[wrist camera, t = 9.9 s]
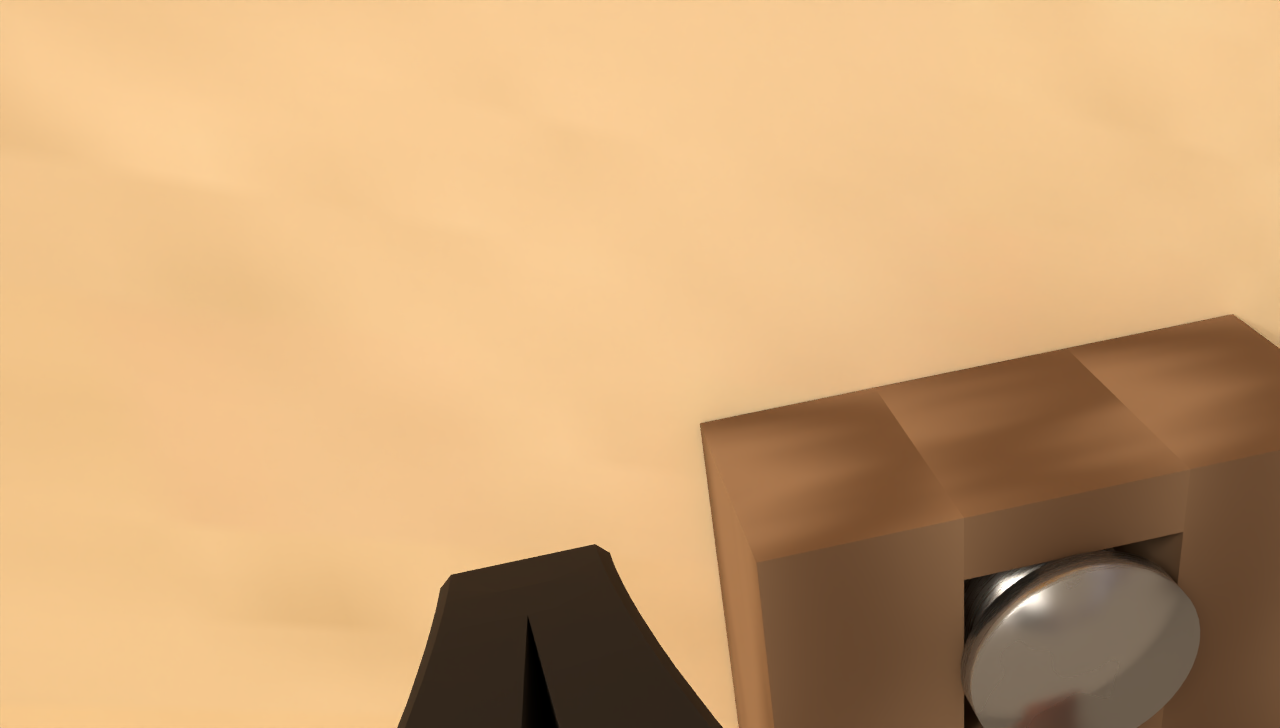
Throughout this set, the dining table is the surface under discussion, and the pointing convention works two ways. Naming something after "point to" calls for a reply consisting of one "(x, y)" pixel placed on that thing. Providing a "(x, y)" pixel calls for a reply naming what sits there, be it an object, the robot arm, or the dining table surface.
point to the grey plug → (1076, 642)
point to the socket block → (999, 521)
